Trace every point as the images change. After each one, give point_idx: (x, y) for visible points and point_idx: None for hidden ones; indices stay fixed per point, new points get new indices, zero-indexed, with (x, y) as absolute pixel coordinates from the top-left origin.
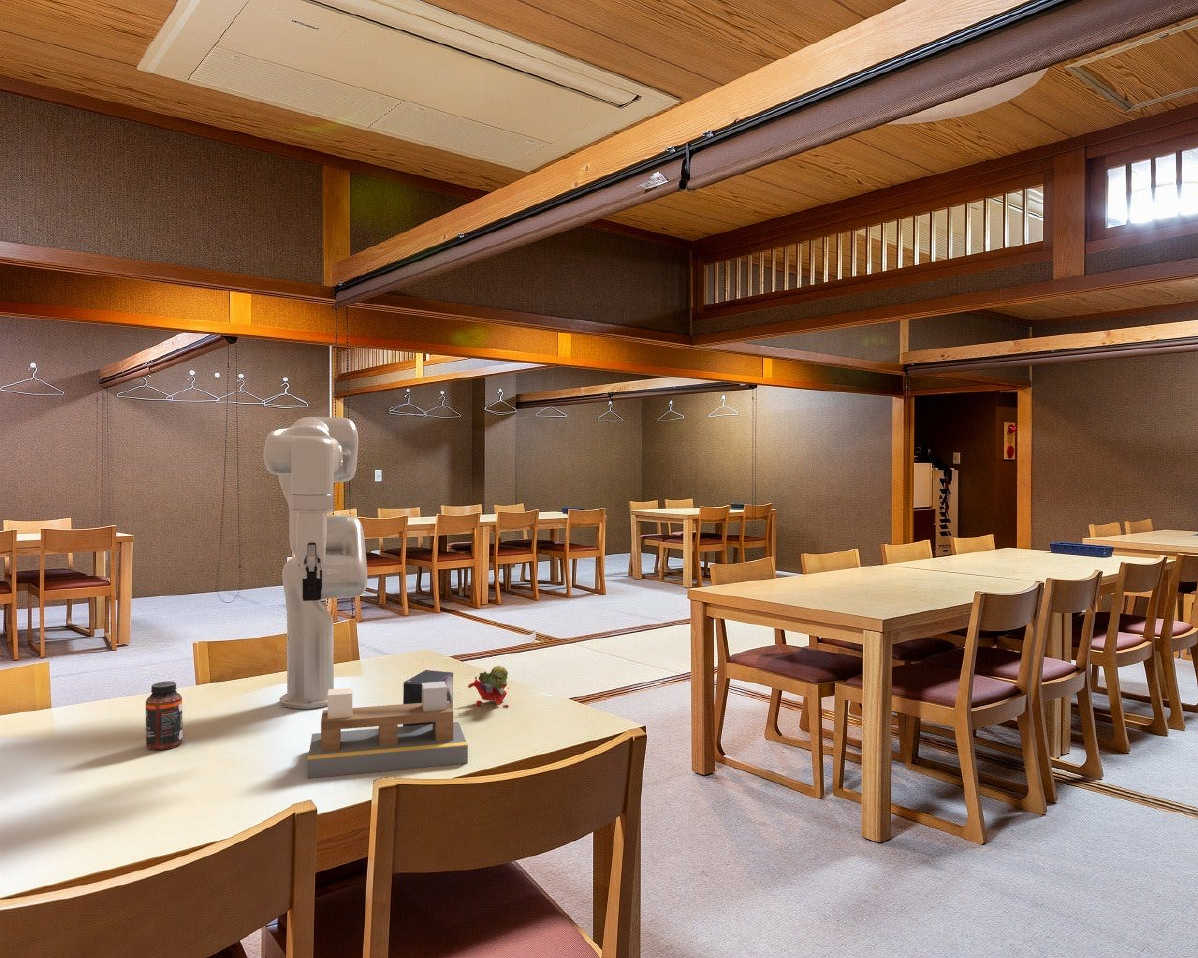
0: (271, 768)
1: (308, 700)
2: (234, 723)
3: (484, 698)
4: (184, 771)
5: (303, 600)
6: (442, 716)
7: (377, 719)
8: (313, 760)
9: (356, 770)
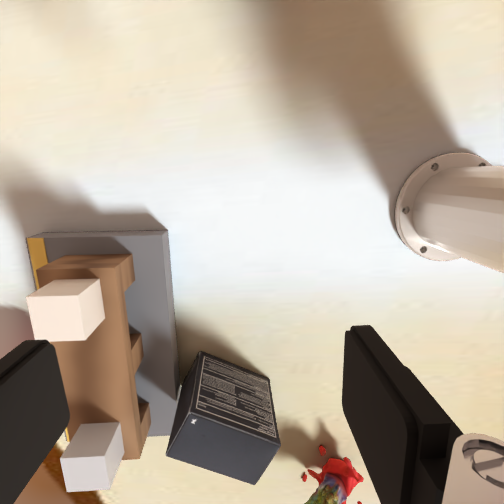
0: (93, 176)
1: (414, 208)
2: (353, 81)
3: (328, 461)
4: (99, 32)
5: (32, 340)
6: None
7: None
8: (28, 246)
9: None
